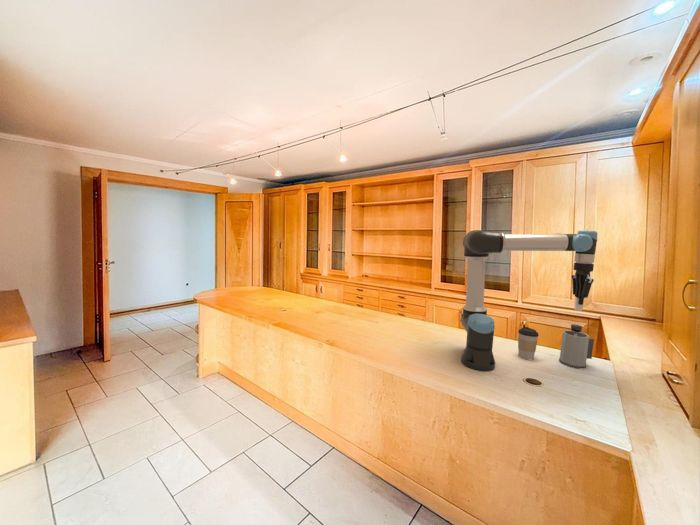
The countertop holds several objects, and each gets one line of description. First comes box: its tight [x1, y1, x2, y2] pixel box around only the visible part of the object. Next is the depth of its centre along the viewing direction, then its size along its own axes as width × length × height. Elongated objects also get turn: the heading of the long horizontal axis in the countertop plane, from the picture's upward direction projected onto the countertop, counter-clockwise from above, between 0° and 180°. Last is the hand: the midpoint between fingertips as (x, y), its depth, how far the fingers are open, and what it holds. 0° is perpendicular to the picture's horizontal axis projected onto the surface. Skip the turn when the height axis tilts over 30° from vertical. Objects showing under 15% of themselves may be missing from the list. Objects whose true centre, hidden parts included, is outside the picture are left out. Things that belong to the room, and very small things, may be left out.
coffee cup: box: [517, 326, 539, 360], centre depth 154 cm, size 9×9×15 cm
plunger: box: [570, 323, 583, 336], centre depth 147 cm, size 7×7×15 cm
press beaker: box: [558, 329, 595, 369], centre depth 147 cm, size 13×11×15 cm
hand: (578, 310), depth 145 cm, fingers closed
